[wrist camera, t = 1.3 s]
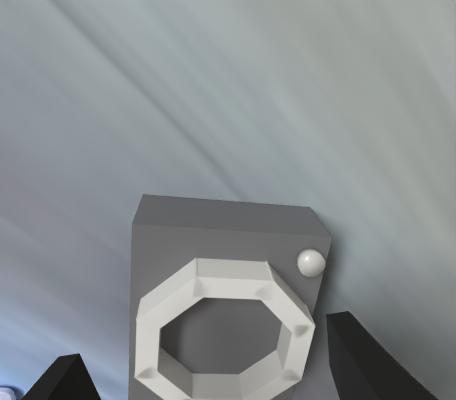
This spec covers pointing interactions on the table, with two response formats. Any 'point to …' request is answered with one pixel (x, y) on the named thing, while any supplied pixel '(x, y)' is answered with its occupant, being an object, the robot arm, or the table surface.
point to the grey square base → (222, 298)
